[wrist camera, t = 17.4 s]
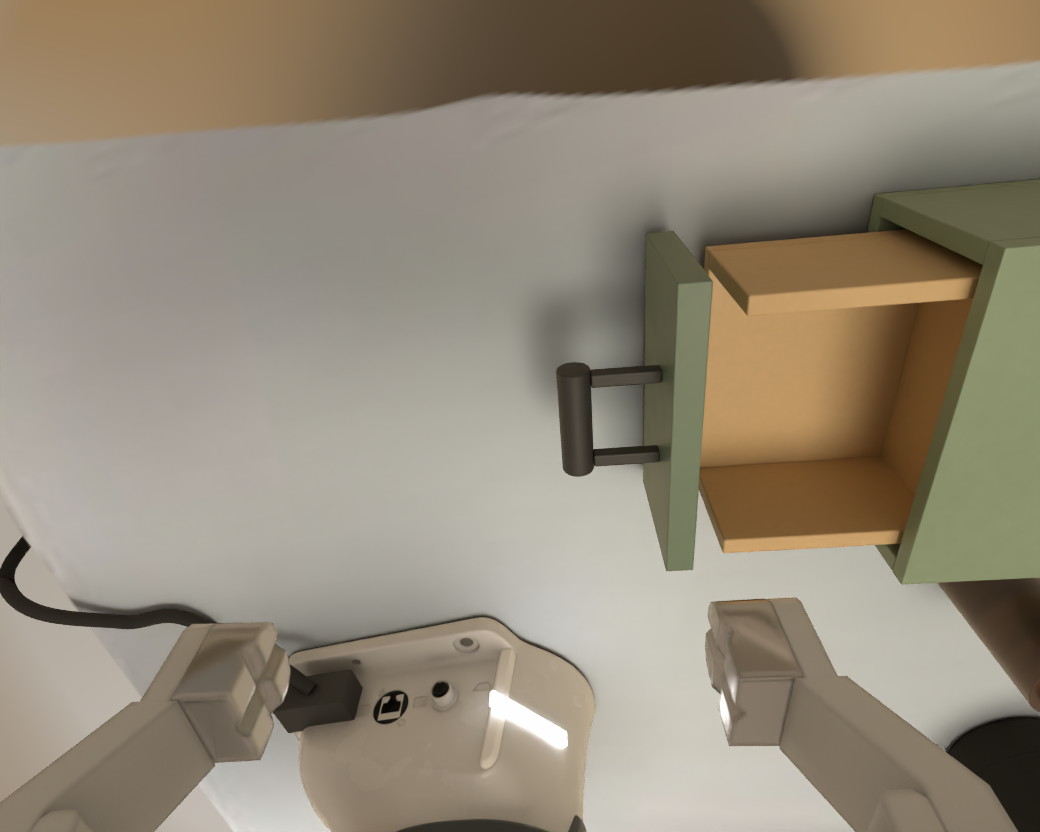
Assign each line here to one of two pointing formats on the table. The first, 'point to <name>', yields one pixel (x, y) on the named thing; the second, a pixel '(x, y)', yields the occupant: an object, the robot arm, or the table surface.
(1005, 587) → the brown cylinder
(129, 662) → the table surface
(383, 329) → the table surface
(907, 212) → the cabinet
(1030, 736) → the pen holder
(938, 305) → the drawer
